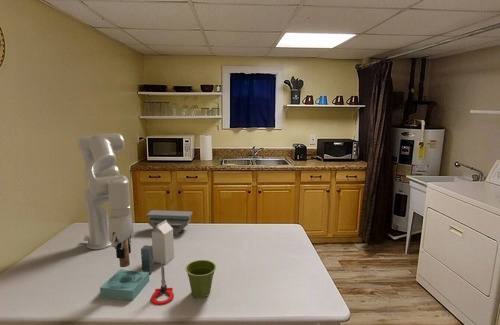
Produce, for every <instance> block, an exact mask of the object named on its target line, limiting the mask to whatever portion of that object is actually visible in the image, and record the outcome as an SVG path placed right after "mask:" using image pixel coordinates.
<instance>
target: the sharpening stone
mask: <svg viewBox="0 0 500 325" xmlns="http://www.w3.org/2000/svg"><path fill="white" fill-rule="evenodd" d="M192 216H193V211H191V210H190V211H189V210H188V211H185V210H183V211H182V210H161V209H160V210H159V209H158V210H155V209H151V210H150V211H149V212H148V213H146V218H149V219H148V224H149V226H150V227H152V228H153V230H155V229H156V226H157V225H158V224H160V223H162V222H163V221H165V220H167V223H168V224H169V225H170V226H171V227H172V228H173V234H176V235H177V234H180V233H181V232H182V230H183V229H186V227H187V226H188V225H189V223H190V222H191V220H192Z"/></svg>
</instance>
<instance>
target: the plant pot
mask: <svg viewBox="0 0 500 325" xmlns="http://www.w3.org/2000/svg"><path fill="white" fill-rule="evenodd" d="M184 269H185V272H186V273H187V277H188V280H189V284H190V285H189V286H190V290H191V291H190V292H191V295H192V296H193V297H194V298H196V299H204V298H207V297H208V296H209V295H210V294H211V289H212V284H213V279H214V278H213V277H214V274H215V271H216V270H217V265H216V263H215V262H213V261H211V260H208V259H197V260H193V261H191V262H189V263H188V264H186V266H185V267H184Z"/></svg>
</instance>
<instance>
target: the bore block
mask: <svg viewBox="0 0 500 325" xmlns="http://www.w3.org/2000/svg"><path fill="white" fill-rule="evenodd" d="M149 282H150V275H149V272H142V271H139V270H137V271H136V270H126V269H118V270H117V271H116V272H115V273H114V274H113V275H112V276H111V277H109V278H108V280H107V281H105V282H104V283H103V284H102V285H101V286H100V287H99V291H100V298H107V299H115V300H116V299H117V300H125V301H134V300H135V299H136V298H137V296H138V295H139V294H140V293H141V292H142V290H143V289H144V288H145V287H146V286H147V284H148V283H149Z"/></svg>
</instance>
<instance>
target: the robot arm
mask: <svg viewBox="0 0 500 325" xmlns="http://www.w3.org/2000/svg"><path fill="white" fill-rule="evenodd" d="M77 146H78V149H79V152H80V154H81V155H82V157H83V162H84V174H85V175H84V176H85V181H86V183H87V184H88V188H86V189H85V190H84V192H83V200H84V203H85V208H86V212H87V213H86V214H87V225H88V234H89V235H87V234H86V235H84V238H83V241H85V242H86V241H87V244H86V248H87V249H90V250H103V249H105V248H108V247H112V248H114V249H115V250H116V251H115V252H116V258H117V259H119V258H122V259H124V258H125V250H124V248H123V241H124V240H125V239H127V238H128V248H129V255H130V254H131V252H132V251H131V242H132V235H133V233H134V222H133V216H132V207H131V206H132V205H131V193H130V191H131V190H130V182H129V179H128V178H127V176H125V175H124V174H121V173H120V172H121V171H120V169H119V167H118V166H117V165H115V164H116V162H117V157H116V154H115V153H119V152H123V151H124V149H125V147H126V144H125V138H124V137H123V135H122V134H121V133H118V132H113V133H112V132H111V133H109V132H108V133H96V134H94V135H87V136H86V135H85V136H81V137H80V138H78V140H77ZM104 204H106V205H107V204H109V205H108V207H109V212H108V210H107V209H106V208H105V207H104V206H103V205H104ZM118 240H119V241H118ZM118 243H120V245H119V244H118Z"/></svg>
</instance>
